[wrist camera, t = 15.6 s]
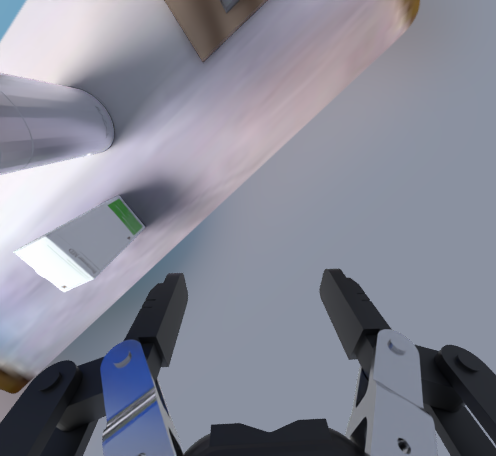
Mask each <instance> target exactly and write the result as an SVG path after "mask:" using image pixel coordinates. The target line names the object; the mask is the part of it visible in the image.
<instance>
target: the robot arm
mask: <svg viewBox="0 0 496 456" xmlns="http://www.w3.org/2000/svg"><path fill="white" fill-rule="evenodd" d="M113 139H114V127H113V122H112V120H111V118H110V115H109V114H108V112H107V110H106V109H105V108H104V106H103V105H102V104H101V103H100V102H99V101H98V100H97V99H96V98H95V97H94V96H92V95H91V94H89V93H87V92H85V91H83V90H81V89H76V88H72V87H67V86H62V85H57V84H53V83H48V82H43V81H38V80H33V79H28V78H23V77H18V76H13V75H8V74H3V73H0V175H2V174H7V173H11V172H15V171H19V170H24V169H28V168H33V167H37V166H42V165H46V164H51V163H55V162H60V161H64V160H69V159H73V158H78V157H83V156H87V155H92V154H96V153H100V152H103V151H105V150H107V149H108V148H109V147H110V146H111V144H112V142H113ZM320 296H321V300H322V302H323V304H324V306H325V308H326V311H327V313H328V315H329V317H330V319H331V322H332V323H333V326H334V328H335V330H336V332H337V335H338V337H339V339H340V341H341V343H342V346H343V348H344V350H345V352H346V354H347V356H348V358H349V360H351V359H358V361H359V363H360V365H361V366H360V368H359V373H358V379H357V385H356V391H355V397H354V403H353V408H352V412H351V416H350V418H349V421H348V425H347V429H346V434H345V436H344V435H342V434H341V433H339V432H337V431H335V430H333V429H331V428H328V425H327V422H326V419H310V420H297V421H295V422H293V423H291V424H288V425H286V426H284V427H282V428H280V429H278V430H275V431H273V432H266V431H262V430H259V429H256V428H253V427H250V426H246V425H244V424H240V423H235V424H217V425H211V433H210V434H208V435H206V436H204V437H203V438H201V439H199V440H198V441H197V442H195V443H194V444H193V445H192V446H191V447H190V448H189V449H188V450H187V451H186V452H185V453H184V451H183V448H182V445H181V442H180V439H179V436H178V434H177V431H176V429H175V426H174V424H173V421H172V419H171V416H170V413H169V410H168V407H167V404H166V402H165V398H164V395H163V393H162V390H161V387H160V384H159V381H158V378H157V377H158V374H159V371H160V368H161V367H169V364H170V360H171V357H172V354H173V350H174V347H175V343H176V340H177V336H178V333H179V329H180V326H181V323H182V319H183V315H184V312H185V309H186V305H187V301H188V291H187V287H186V283H185V278H184V275H183V273H171V274H170V273H169V274H168V275H167V276H166V278H165V281H164V283H160V284H159V283H158V284H157V285H156V286H155V287H154V288H153V289H152V290H151V291H150V292H149V294H148V296H147V298H146V301H145V302H144V304H143V305H142V309H140V311H139V313H138V315H137V317H136V319H135V321H134V323H133V324H132V326H131V328H130V330H129V332H128V334H127V336H126V338H125V339H124V341H123V342H121V343H119V344H117V345H116V346H114V347H113V348H112V349H111V350H110V351H109V352H108V353H107V354H106V355H105V356H104V357H102V358H99V359H97V360H94V361H91V362H88V363H85V364H82V365H79V366H76V365H75V363H74V362H72V361H69V360H68V361H67V360H66V361H61V362H58V363H56V364H54V365H52V366H50V367H48V368H46V369H45V370H44V371H42V372H41V373H40V374H39V375H38V376H37V377H36V378H35V379H34V380H33V381H32V382H31V383H30V384H29V386H28V387H27V389H26V390H25V391H24V393H23V394H22V395H21V396H20V398H19V399H18V401H17V402H16V403H15V404H14V406H13V407H12V408H11V410H10V411H9V412H8V414H7V415H6V416H5V418H4V419H3V420H2V422H1V423H0V456H83V454H84V452H85V449H86V447H87V445H88V442H89V440H90V438H91V436H92V433H93V431H94V429H95V426H96V424H97V422H98V419H99V418H102V417H104V416H106V418H107V427H106V429H105V430H104V432H103V436H102V445H103V455H104V456H438V453H437V444H436V434H435V430H436V431H437V433H438V435H439V436H440V438H441V440H442V442H443V443H444V445H445V447H446V448H447V450H448V452H449V453H450V455H451V456H496V448H495V447H494V445H493V444H492V443H491V441H490V440H489V439H488V437H487V436H486V435H485V433H484V432H483V430H482V429H481V428H480V427H479V425H478V424H477V422H476V421H475V420H474V418H473V417H472V416H471V414H470V413H469V412H468V410H467V409H466V408H465V405H467V407H468V408H469V409H470V411H471V412H472V413H473V415H474V416H475V417H476V418H477V420H478V421H479V423H480V424H481V425H482V427H483V428H484V429H485V431H486V432H487V433H488V435H489V436H490V437H491V439H492V440H493V441H494V443H495V444H496V375H495V374H494V373H493V372H492V371H491V370H490V369H489V368H488V367H487V366H486V364H485V363H483V362H482V361H481V360H480V359H479V358H478V357H476V356H475V355H474V354H472V353H471V352H469V351H467V350H465V349H463V348H460V347H458V346H454V345H446V346H444V347H442V349H441V350H440V351H436V350H432V349H429V348H424V347H421V346H417V345H414V344H413V343H412V342H411V341H410V340H409V339H408V338H407V337H405V336H404V335H402V334H401V333H399V332H397V331H394V330H392V329H391V328H390V327H389V325H388V324H387V323H386V321H385V320H384V319H383V317H382V316H381V314H380V313H379V312H378V310H377V309H376V307H375V306H374V305H373V303H372V302H371V301H370V299H369V298H368V297H367V295H366V294H365V292H364V291H363V290H362V288H361V287H360V286H359V284H357V283H356V282H355V281H353V280H352V279H351V278H346V276H345V275H344V274H343V272H342V271H341V270H340V269H325V271H324V273H323V277H322V282H321V285H320Z"/></svg>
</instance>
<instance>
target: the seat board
mask: <svg viewBox="0 0 496 456" xmlns="http://www.w3.org/2000/svg"><path fill="white" fill-rule="evenodd" d="M164 1H165V2H166V4H167V5H168V7H169V9H170V10H171V12H172V13H173V15H174V17H175V18H176V20H177V21H178V23H179V25H180V26H181V28H182V29H183V31H184V33H185V34H186V36H187V38H188V39H189V41H190V42H191V44H192V46H193V47H194V49H195V50H196V52H197V54H198V55H199V57H200V58H201V60H202V62H204V61H205V60H206V59H207V58H208V57H209V56H210V55H211V54H212V53H213V52H214V51H215V50H216V49H217V48H219V47H220V46H221V45H222V44H223V43H224V42H225V41H226V40H227V39H228V38H229V37H230V36H231V35H232V34H233V33H234V32H235V31H236V30H237V29H238V28H239V27H240V26H241V25H242V24H243V23H245V22H246V21H247V20H248V19H249V18H250V17H251V16H252V15H253V14H254V13H255V12H256V11H257V10H258V9H259V8H260V7H261V6H262V5H263V4H264V3H265V2H266V1H267V0H164Z"/></svg>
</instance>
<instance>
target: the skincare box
mask: <svg viewBox="0 0 496 456" xmlns="http://www.w3.org/2000/svg"><path fill="white" fill-rule="evenodd" d="M144 229H145V226H144V225H143V223H142V222H141V221H140V220H139V219H138V217H137V216H136V215H135V214H134V213H133V211H132V210H131V209H130V208H129V207H128V205H127V204H126V203H125V202H124V200H123V199H122V198H121V197H120V196H119V195H118V196H116V197H114V198H112V199H110V200H108V201H106V202H104V203H102V204H100V205H98V206H96V207H94V208H93V209H91V210H89V211H87V212H85V213H83V214H82V215H80V216H78V217H76V218H74V219H72V220H70V221H69V222H67V223H65V224H63V225H61V226H59V227H57V228H56V229H54V230H52V231H50V232H48V233H46V234H45V235H43V236H41V237H39V238H37V239H35V240H34V241H32V242H30V243H28V244H26V245H25V246H23V247H21V248H19V249H17V250H15V251H14V253H15V254H16V255H18V256H19V257H20V258H21V259H22V260H24V261H25V262H26V263H27V264H29V265H30V266H31V267H32V268H34V270H35V271H36V272H37V273H38V274H39V275H40V276H42V277H44V278H46V279H48V280H49V281H50V282H51V283H53V284H54V285H55V286H56V287H58V288H59V289H60V290H61V291H63V292H66V291H69V290H71V289H73V288H75V287H77V286H80V285H82V284H84V283H86V282H88V281H90V280H93V279H95V278H96V277H97V276H98V275H99V274H100V273H101V272H102V271H103V270H104V269H105V268H106V267H107V266H108V265H109V264H110V263H111V262H112V261H113V260H114V259H115V258H116V257H117V256H118V255H119V254H120V253H121V252H122V251H123V250H124V249H125V248H126V247H127V246H128V245H129V244H130V243H131V242H132V241H133V240H134V239H135V238H136V237H137V236H138V235H139V234H140V233H141V232H142V231H143V230H144Z"/></svg>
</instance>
